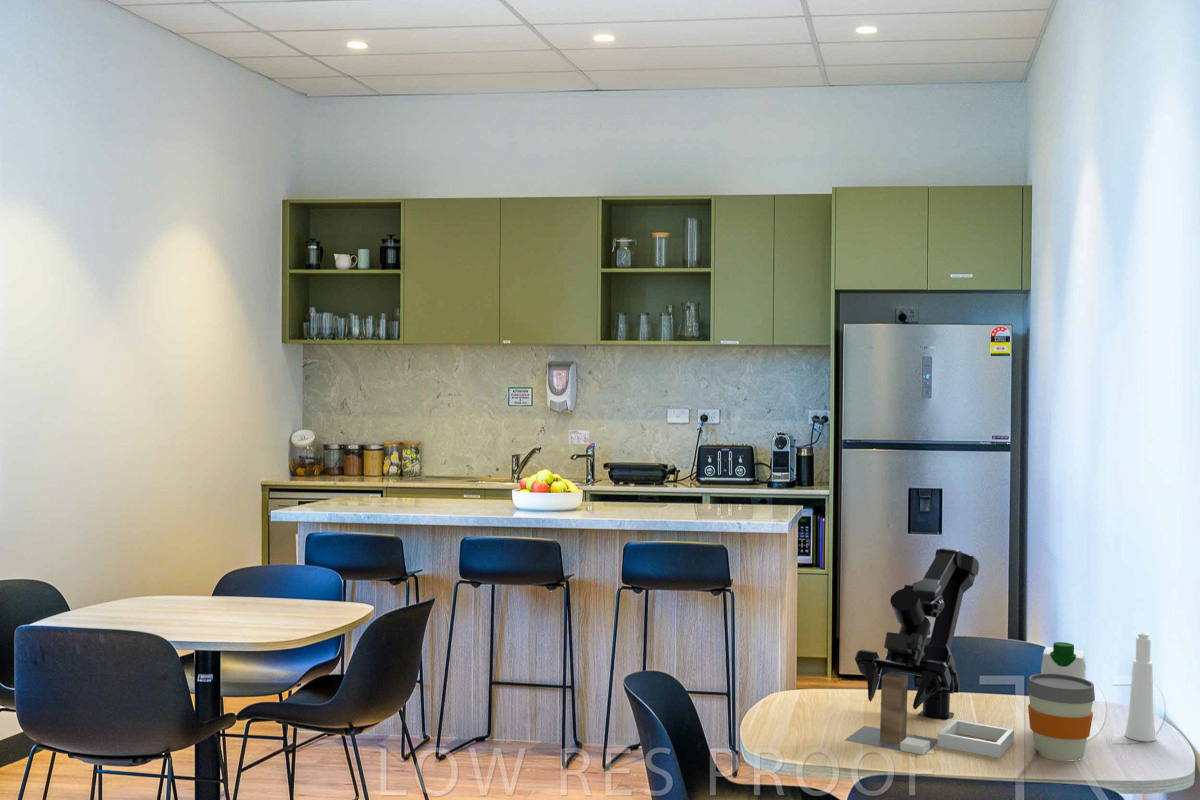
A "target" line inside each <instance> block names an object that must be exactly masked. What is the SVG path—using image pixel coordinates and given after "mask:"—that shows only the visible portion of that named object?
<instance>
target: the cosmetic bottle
mask: <svg viewBox="0 0 1200 800" xmlns="http://www.w3.org/2000/svg"><path fill="white" fill-rule="evenodd" d="M1151 642H1152V641H1151V638H1150V634H1149V633H1147V632H1137V637H1136V640H1135V643H1136V644H1135V659H1134V660H1133V661H1132V673H1131V684H1130V695H1129V696H1130V697H1129V708H1128V715H1127V721H1126V722H1127V723H1126V727H1125V731H1124V736H1125V737H1126V738H1128V739H1130V740H1134V741H1137V742H1138V741H1139V742H1148V743H1149V742H1150V743H1151V742H1155V741H1156V740H1157V735H1156V729H1155V716H1154V715H1155V714H1154V686H1153V685H1154V684H1153V683H1154V679H1153V676H1154V675H1153V672H1154V671H1153V662H1152V661H1151V648H1152V647H1151V646H1152V645H1151V644H1152V643H1151Z"/></svg>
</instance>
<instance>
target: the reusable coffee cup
mask: <svg viewBox="0 0 1200 800" xmlns="http://www.w3.org/2000/svg"><path fill="white" fill-rule="evenodd" d="M1026 690H1027V691H1026V692H1027V694H1028V699H1029V704H1028V706H1027V709H1028V719H1029V720H1028V721H1029V728H1030V731H1032V738H1033V739H1032V740H1033V747H1034V749H1036V751H1035V752H1034V753H1035V754H1037V755H1038V756H1040V757H1042V758H1046V759H1048V760H1049V759H1050V760H1053V761H1058V760H1079V759H1082V758H1083V759H1084V756H1085V751H1086V750H1085V749H1086V744H1087V738H1089V737H1090V735H1091V729H1092V722H1093V716H1094V713H1093V711H1092V708H1093V703H1094V702H1095V700H1096V694H1095V684H1094V682H1093V681H1090V680H1087V679H1086V680H1085V679H1082V678H1078V677H1074V676H1068V675H1061V674H1041V673H1036V674H1032V675H1030V676H1029V678H1028V682H1027V688H1026ZM1083 759H1082V760H1083ZM1079 761H1080V760H1079Z"/></svg>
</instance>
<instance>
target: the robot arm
mask: <svg viewBox="0 0 1200 800" xmlns="http://www.w3.org/2000/svg"><path fill="white" fill-rule="evenodd" d="M979 569H980V563H979V560H977V559H976V558H975V556H974V555H972V554H967V553H964V552H962V551H961V550H958V549H957V548H948V547H940V548H937V549H936V551H935V556H934V559H933V560H932V562H931V564H930V566H929V567H928V569H927V571H926V573H925V574H924V576H923V578H922V579H921V580H919V581H916V582H913V583H912V584H911V585H910V584H904V586H903V588H901V589H898V590H896V591H895V592H894V593H893V594H892V595H891V597H890V605H891V607H892V610H893V612H894V616H895V618H896V620H897V623H898V624H899V625H900V626H899V630H898V633H897V632H896V633H895V632H891V631H890V632H889V631H887V632H886V634H885V639H884V645H883V648H884V649H886V650H887V651H886V654H887V657H888V658H890V660H889V659H881V658H880V656H879V655H878V651H874V650H865V649H859V650H858V651H857V652H856V654H855V657H854V661H855V663H856V665H857V667H858V670H859V673H861V674H862V675H863V676H864V678H866V682H867V683H866V684H867V699H868V701H869V702H872V701H873V699H874V697H875V694H876V691H877V688H878V685H879V682H880V680H881V679H880V674H881V672H882V670H883V671H889V672H895V673H896V672H898V673H899V674H905V675H911V676H912V675H913V681H914V688H917V691H916V694H915V696H914V700H913V704H912V709H913V710H917V709H918V708H919V707H920V706H921V705H922V710H921V711H920V712H918V713H917V716H919V717H923V718H930V719H936V720H941V721H948V720H949V719H952V718H953V717H954V716H955V712H951V711H950V705H951V695H952V694H955V693H956V694H957V693H960V678H959V674H958V672H957V669H956V662H955V660H954V657H953V653H952V652H951V650H952V645H953V640H954V638H955V631H956V627H957V624H958V619H959V616H960V615H959V614H960V610H961V605H962V602H963V596H964V593H966V591H968V590H969V589H971V587H973V585H974V582H975V578H976V576H978V574H979V571H980V570H979ZM928 617H929V618H934V623H933V627H932V626H931V624H932V623H931V622H930V619H929V618H928ZM931 627H932V631H931ZM928 636H930V639H929V642H927V639H928ZM926 643H927V644H926Z"/></svg>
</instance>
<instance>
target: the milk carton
mask: <svg viewBox="0 0 1200 800" xmlns="http://www.w3.org/2000/svg"><path fill="white" fill-rule="evenodd" d="M1052 644H1053V647H1052V646H1051V647H1050V646H1045V648H1044V649H1043V651H1042V652H1043V653H1042V658H1041V663H1040V665H1041V668H1040V669H1041V670H1040V674H1061V675H1068V676H1074V677H1078V678H1082V679H1085V680H1087V678H1086V677H1087V676H1086V675H1087V674H1086V671H1087V664H1086V663H1087V662H1086V657H1085V650H1078V649H1077V650H1076V649H1075V645H1074V644H1073V643H1069V642H1060V641H1058V642H1055V641H1054V643H1052Z"/></svg>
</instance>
